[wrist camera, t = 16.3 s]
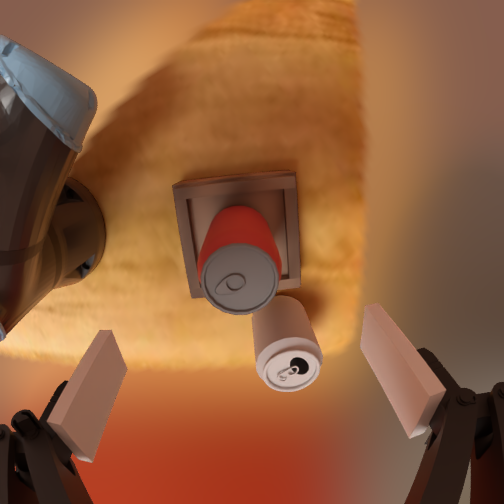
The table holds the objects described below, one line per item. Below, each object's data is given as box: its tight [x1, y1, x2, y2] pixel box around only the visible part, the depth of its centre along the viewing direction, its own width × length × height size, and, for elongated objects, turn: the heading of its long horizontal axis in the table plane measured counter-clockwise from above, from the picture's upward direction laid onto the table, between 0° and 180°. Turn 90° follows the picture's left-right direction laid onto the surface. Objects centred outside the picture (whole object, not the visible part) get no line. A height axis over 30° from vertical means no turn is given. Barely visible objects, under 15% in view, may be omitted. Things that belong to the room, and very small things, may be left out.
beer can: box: [197, 206, 282, 315], centre depth 26 cm, size 7×7×12 cm
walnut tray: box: [172, 170, 301, 298], centre depth 33 cm, size 13×13×5 cm
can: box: [252, 295, 323, 392], centre depth 34 cm, size 8×8×12 cm
